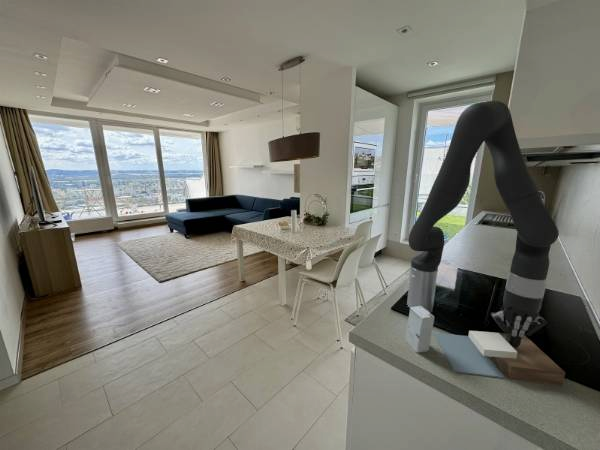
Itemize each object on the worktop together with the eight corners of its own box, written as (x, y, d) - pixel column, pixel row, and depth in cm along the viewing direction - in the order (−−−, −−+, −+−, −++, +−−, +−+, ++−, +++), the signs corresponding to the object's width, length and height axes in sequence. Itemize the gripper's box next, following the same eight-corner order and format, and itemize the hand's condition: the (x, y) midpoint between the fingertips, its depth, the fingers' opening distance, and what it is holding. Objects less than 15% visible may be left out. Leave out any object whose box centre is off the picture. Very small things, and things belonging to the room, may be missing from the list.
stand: (479, 342, 77) (481, 331, 76) (522, 346, 74) (525, 335, 73) (508, 378, 63) (511, 366, 62) (561, 385, 61) (565, 372, 60)
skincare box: (404, 340, 78) (408, 306, 75) (417, 338, 79) (420, 305, 76) (417, 353, 72) (421, 318, 69) (430, 351, 73) (435, 316, 70)
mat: (433, 333, 81) (433, 332, 81) (473, 337, 79) (473, 336, 79) (454, 371, 65) (454, 370, 65) (504, 378, 63) (504, 377, 63)
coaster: (468, 336, 74) (469, 330, 73) (497, 338, 72) (498, 332, 72) (483, 355, 66) (484, 349, 65) (516, 358, 65) (517, 352, 64)
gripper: (541, 285, 67) (528, 339, 71) (488, 282, 69) (478, 334, 73) (565, 299, 60) (549, 358, 63) (505, 295, 62) (494, 352, 66)
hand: (511, 345), depth 68 cm, fingers closed
